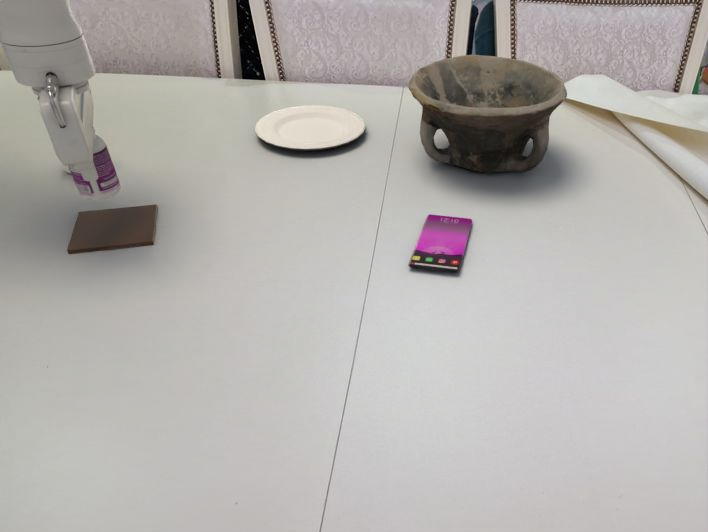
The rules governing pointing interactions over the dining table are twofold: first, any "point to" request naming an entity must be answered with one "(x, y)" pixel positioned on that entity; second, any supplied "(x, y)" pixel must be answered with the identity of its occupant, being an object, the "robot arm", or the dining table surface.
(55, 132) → the robot arm
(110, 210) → the coaster
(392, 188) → the dining table surface
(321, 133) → the plate
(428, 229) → the smartphone
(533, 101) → the bowl
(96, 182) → the pill bottle
